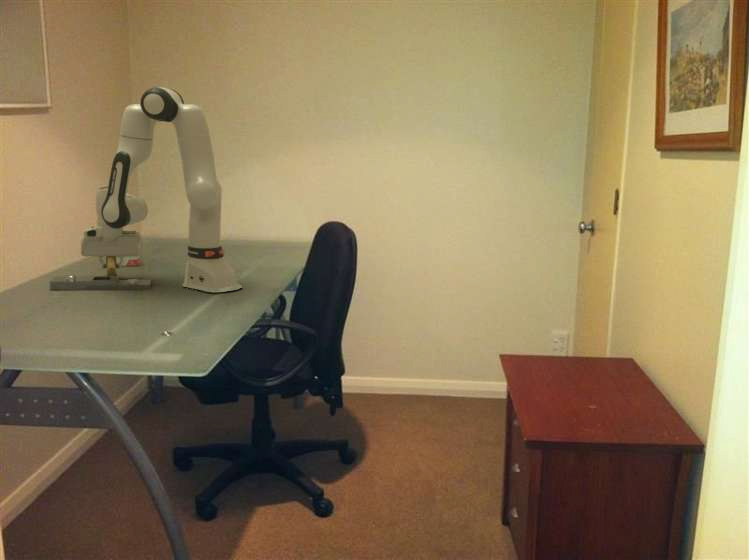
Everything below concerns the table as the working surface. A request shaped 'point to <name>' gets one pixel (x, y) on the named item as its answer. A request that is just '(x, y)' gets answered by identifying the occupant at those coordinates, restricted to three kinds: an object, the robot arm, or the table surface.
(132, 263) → the ink box
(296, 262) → the table surface
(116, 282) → the latch strike plate
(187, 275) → the robot arm
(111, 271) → the brass pin
